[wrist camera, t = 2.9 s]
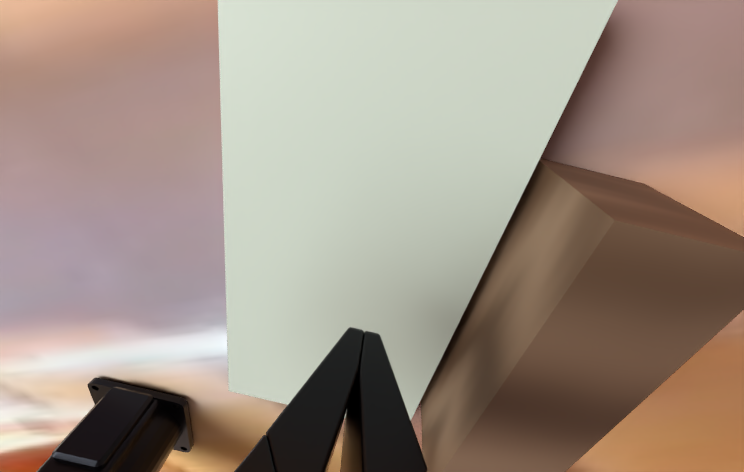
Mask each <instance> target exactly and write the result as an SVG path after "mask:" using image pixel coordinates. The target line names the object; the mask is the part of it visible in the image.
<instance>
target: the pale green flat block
mask: <svg viewBox="0 0 744 472" xmlns="http://www.w3.org/2000/svg"><path fill="white" fill-rule="evenodd" d="M617 1H618V0H218V26H219V62H220V97H221V133H222V168H223V204H224V240H225V275H226V311H227V347H228V382H229V391H231V392H235V393H240V394H244V395H248V396H253V397H257V398H261V399H265V400H270V401H274V402H278V403H283V404H287V405H288V404H289V403H290V401H291V400H292V399H293V398H294V396H295V395H296V394H297V393H298V391H299V390H300V389H301V387H302V386H303V385H304V384H305V382H306V381H307V380H308V378H309V377H310V376H311V375H312V373H313V372H314V371H315V370H316V368H317V367H318V366H319V364H320V363H321V362H322V361H323V359H324V358H325V357H326V356H327V354H328V353H329V352H330V350H331V349H332V348H333V347H334V345H335V344H336V343H337V342H338V340H339V339H340V338H341V336H342V335H343V334H344V333H345V331H346V330H347V329H348V328H349V327H353V328H357V329H361V330H363V331H364V332H365V331H370V332H374V333H378V334H379V335H380V336H381V339H382V341H383V344H384V347H385V350H386V353H387V356H388V358H389V361H390V364H391V367H392V370H393V372H394V375H395V378H396V381H397V384H398V387H399V389H400V392H401V395H402V398H403V401H404V403H405V406H406V409H407V412H408V415H409V418H410V420H411V419H412V417H413V415H414V413H415V411H416V409H417V407H418V405H419V403H420V401H421V399H422V397H423V395H424V392H425V390H426V388H427V386H428V384H429V382H430V380H431V378H432V376H433V374H434V372H435V370H436V368H437V366H438V364H439V362H440V360H441V358H442V356H443V354H444V352H445V350H446V348H447V346H448V344H449V342H450V340H451V338H452V336H453V334H454V332H455V330H456V328H457V326H458V324H459V322H460V319H461V317H462V315H463V313H464V311H465V309H466V307H467V305H468V303H469V301H470V299H471V297H472V295H473V293H474V291H475V289H476V287H477V285H478V283H479V281H480V279H481V277H482V275H483V273H484V271H485V269H486V267H487V265H488V263H489V261H490V259H491V257H492V255H493V253H494V251H495V249H496V246H497V244H498V242H499V240H500V238H501V236H502V234H503V232H504V230H505V228H506V226H507V224H508V222H509V220H510V218H511V216H512V214H513V212H514V210H515V208H516V206H517V204H518V202H519V200H520V198H521V196H522V194H523V192H524V190H525V188H526V186H527V184H528V182H529V180H530V178H531V176H532V173H533V171H534V169H535V167H536V165H537V163H538V161H539V159H540V157H541V155H542V153H543V151H544V149H545V147H546V145H547V143H548V141H549V139H550V137H551V135H552V133H553V131H554V129H555V127H556V125H557V123H558V121H559V119H560V117H561V115H562V113H563V111H564V109H565V107H566V105H567V103H568V100H569V98H570V96H571V94H572V92H573V90H574V88H575V86H576V84H577V82H578V80H579V78H580V76H581V74H582V72H583V70H584V68H585V66H586V64H587V62H588V60H589V58H590V56H591V54H592V52H593V50H594V48H595V46H596V44H597V42H598V40H599V38H600V36H601V34H602V32H603V30H604V27H605V25H606V23H607V21H608V19H609V17H610V15H611V13H612V11H613V9H614V7H615V5H616V3H617ZM345 416H346V414H345ZM344 418H345V417H344Z"/></svg>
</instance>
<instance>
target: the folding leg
mask: <svg viewBox="0 0 744 472" xmlns="http://www.w3.org/2000/svg"><path fill="white" fill-rule="evenodd" d="M742 310H744V237H742V236H740V235H738V234H737V233H735V232H733V231H731V230H729V229H727V228H725V227H724V226H722V225H720V224H718V223H716V222H714V221H712V220H710V219H709V218H707V217H705V216H703V215H701V214H699V213H697V212H696V211H694V210H692V209H690V208H688V207H686V206H684V205H682V204H681V203H679V202H677V201H675V200H673V199H671V198H669V197H668V196H666V195H664V194H662V193H660V192H658V191H656V190H655V189H653V188H651V187H649V186H647V185H645V184H642V183H638V182H634V181H630V180H626V179H622V178H618V177H614V176H610V175H606V174H602V173H597V172H593V171H589V170H585V169H581V168H577V167H573V166H569V165H565V164H561V163H557V162H553V161H549V160H545V159H541V158H540V159H539V161H538V163H537V165H536V167H535V169H534V171H533V173H532V176H531V178H530V180H529V182H528V184H527V186H526V188H525V190H524V192H523V194H522V196H521V198H520V200H519V202H518V204H517V206H516V208H515V210H514V212H513V214H512V216H511V218H510V220H509V222H508V224H507V226H506V228H505V230H504V232H503V234H502V236H501V238H500V240H499V242H498V244H497V246H496V249H495V251H494V253H493V255H492V257H491V259H490V261H489V263H488V265H487V267H486V269H485V271H484V273H483V275H482V277H481V279H480V281H479V283H478V285H477V287H476V289H475V291H474V293H473V295H472V297H471V299H470V301H469V303H468V305H467V307H466V309H465V311H464V313H463V315H462V317H461V319H460V322H459V324H458V326H457V328H456V330H455V332H454V334H453V336H452V338H451V340H450V342H449V344H448V346H447V348H446V350H445V352H444V354H443V356H442V358H441V360H440V362H439V364H438V366H437V368H436V370H435V372H434V374H433V376H432V378H431V380H430V382H429V384H428V386H427V388H426V390H425V392H424V395H423V397H422V399H421V419H422V452H423V457H424V460H425V463H426V466H427V468H428V470H427V472H565V471H566V470H568V469H569V468H570V467H571V466H572V465H573V464H574V463H575V462H576V461H577V460H579V459H580V458H581V457H582V456H583V455H584V454H585V453H586V452H587V451H588V450H590V449H591V448H592V447H593V446H594V445H595V444H596V443H597V442H598V441H599V440H601V439H602V438H603V437H604V436H605V435H606V434H607V433H608V432H609V431H610V430H612V429H613V428H614V427H615V426H616V425H617V424H618V423H619V422H620V421H621V420H623V419H624V418H625V417H626V416H627V415H628V414H629V413H630V412H631V411H632V410H634V409H635V408H636V407H637V406H638V405H639V404H640V403H641V402H642V401H643V400H645V399H646V398H647V397H648V396H649V395H650V394H651V393H652V392H653V391H654V390H656V389H657V388H658V387H659V386H660V385H661V384H662V383H663V382H664V381H665V380H667V379H668V378H669V377H670V376H671V375H672V374H673V373H674V372H675V371H676V370H678V369H679V368H680V367H681V366H682V365H683V364H684V363H685V362H686V361H687V360H689V359H690V358H691V357H692V356H693V355H694V354H695V353H696V352H697V351H698V350H700V349H701V348H702V347H703V346H704V345H705V344H706V343H707V342H708V341H709V340H711V339H712V338H713V337H714V336H715V335H716V334H717V333H718V332H719V331H720V330H722V329H723V328H724V327H725V326H726V325H727V324H728V323H729V322H730V321H731V320H733V319H734V318H735V317H736V316H737V315H738V314H739V313H740V312H741V311H742Z"/></svg>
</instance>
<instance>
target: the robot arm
mask: <svg viewBox="0 0 744 472" xmlns="http://www.w3.org/2000/svg"><path fill="white" fill-rule="evenodd" d="M88 388H89V391H90V393H91V396H92V398H93V401H94V403H95V406H94V407H93V408H92V409H91V410H90V411H89V412H88V414H87V415H86V416H85V417H84V418H83V419H82V420H81V421H80V422H79V423H78V425H77V426H76V427H75V428H74V429H73V430H72V431H71V432H70V433H69V434H68V436H67V437H66V438H65V439H64V440H63V441H62V442H61V443H60V444H59V445H58V447H57V448H56V449H55V450H54V451H53V453H52V455H51V456H50V457H49V459H48V460H47V461H46V462H45V463H44V464H43V465H42V466H41V467H40V468H39V470H38V471H37V472H159V471H160V469H161V468H162V466H163V464H164V463H165V461H166V459H167V458H168V456H169V454H170V453H171V451H172V450H178V451H182V452H190V451H191V449H192V447H193V445H194V444H193V437H192V430H191V423H190V416H189V409H188V403H187V401H186V400H185V399H184V398H181V397H178V396H173V395H169V394H165V393H161V392H156V391H152V390H148V389H143V388H139V387H135V386H130V385H126V384H122V383H118V382H113V381H109V380H105V379H100V378H94V379H93V380H92V381H91V382H90V383H89V384H88ZM345 414H346V416H345ZM344 417H345V424H344V435H343V446H342V458H341V469H340V472H427V470H428V468H427V466H426V463H425V460H424V457H423V454H422V451H421V449H420V446H419V443H418V440H417V437H416V434H415V432H414V429H413V426H412V423H411V420H410V418H409V415H408V412H407V409H406V406H405V403H404V401H403V398H402V395H401V392H400V389H399V387H398V384H397V381H396V378H395V375H394V372H393V370H392V367H391V364H390V361H389V358H388V356H387V353H386V350H385V347H384V344H383V341H382V339H381V336H380V335H379V334H378V333H374V332H370V331H365V332H364V331H363V330H361V329H357V328H353V327H349V328H348V329H347V330H346V331H345V333H344V334H343V335H342V336H341V338H340V339H339V340H338V342H337V343H336V344H335V345H334V347H333V348H332V349H331V350H330V352H329V353H328V354H327V356H326V357H325V358H324V359H323V361H322V362H321V363H320V364H319V366H318V367H317V368H316V370H315V371H314V372H313V373H312V375H311V376H310V377H309V378H308V380H307V381H306V382H305V384H304V385H303V386H302V387H301V389H300V390H299V391H298V393H297V394H296V395H295V396H294V398H293V399H292V400H291V401H290V403H289V404H288V405H287V407H286V408H285V409H284V410H283V412H282V413H281V414H280V415H279V417H278V418H277V419H276V421H275V422H274V423H273V424H272V426H271V427H270V428H269V429H268V431H267V432H266V435H264V436H263V437H262V438H261V439H260V441H259V442H258V443H257V444H256V446H255V447H254V448H253V450H252V451H251V452H250V453H249V454H248V456H247V457H246V458H245V459H244V460H243V462H242V463H241V464H240V465H239V466H238V468H237V469H236V470H235V471H234V472H327V470H328V467H329V464H330V461H331V458H332V455H333V452H334V449H335V446H336V442H337V439H338V436H339V433H340V430H341V427H342V424H343V420H344Z"/></svg>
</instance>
